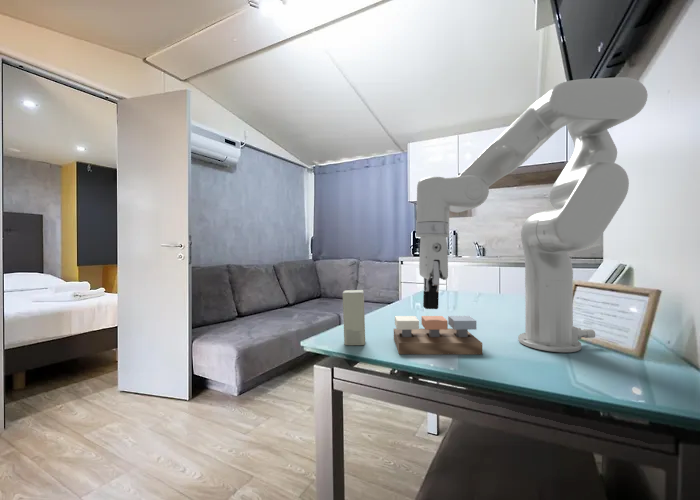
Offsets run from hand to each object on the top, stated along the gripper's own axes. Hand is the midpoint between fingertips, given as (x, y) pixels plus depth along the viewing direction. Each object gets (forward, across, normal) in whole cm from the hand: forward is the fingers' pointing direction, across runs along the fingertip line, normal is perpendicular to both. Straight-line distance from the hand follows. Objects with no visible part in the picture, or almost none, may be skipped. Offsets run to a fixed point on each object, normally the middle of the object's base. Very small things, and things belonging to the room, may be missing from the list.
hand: (430, 308), depth 75 cm
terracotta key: (+7, 0, -1) cm, 7 cm away
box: (+10, +2, +18) cm, 20 cm away
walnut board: (+9, 0, -1) cm, 9 cm away
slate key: (+7, 0, -8) cm, 10 cm away
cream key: (+7, 0, +5) cm, 9 cm away
